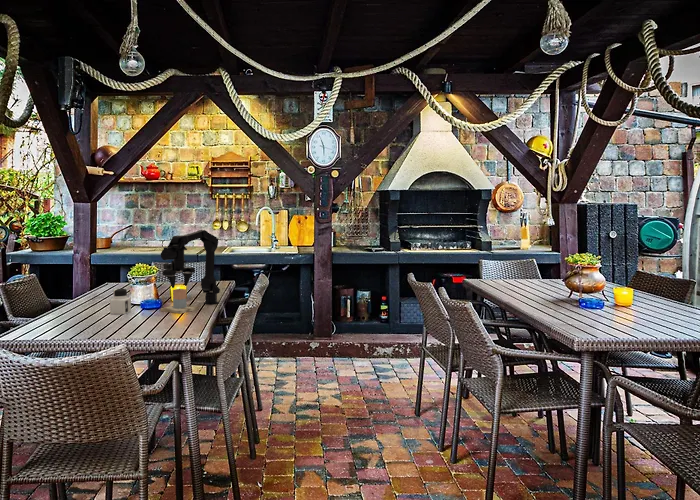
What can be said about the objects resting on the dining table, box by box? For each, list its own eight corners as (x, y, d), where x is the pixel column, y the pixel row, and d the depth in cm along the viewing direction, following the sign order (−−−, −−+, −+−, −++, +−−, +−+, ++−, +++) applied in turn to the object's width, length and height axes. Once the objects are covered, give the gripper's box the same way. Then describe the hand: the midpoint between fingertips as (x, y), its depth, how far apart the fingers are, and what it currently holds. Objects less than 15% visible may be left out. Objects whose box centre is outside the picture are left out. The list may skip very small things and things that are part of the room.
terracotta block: (179, 297, 304) (179, 288, 303) (186, 298, 301) (186, 289, 301) (173, 298, 299) (172, 289, 299) (179, 299, 297) (179, 290, 296)
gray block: (180, 306, 304) (179, 297, 304) (186, 307, 302) (186, 298, 301) (173, 307, 300) (173, 298, 299) (179, 308, 297) (179, 299, 297)
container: (131, 311, 296) (130, 288, 295) (123, 314, 288) (123, 290, 287) (117, 311, 297) (116, 287, 296) (110, 314, 289) (109, 289, 288)
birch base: (180, 307, 310) (180, 304, 310) (198, 309, 304) (198, 306, 303) (161, 311, 298) (160, 308, 298) (179, 313, 291) (179, 310, 291)
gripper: (180, 256, 310) (181, 283, 312) (155, 259, 294) (155, 288, 295) (195, 257, 305) (195, 285, 306) (170, 260, 289) (170, 289, 290)
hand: (179, 286), depth 300 cm, fingers open, 9 cm apart
